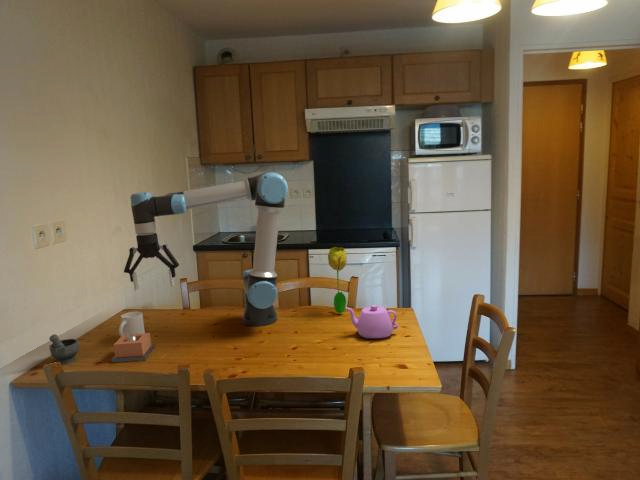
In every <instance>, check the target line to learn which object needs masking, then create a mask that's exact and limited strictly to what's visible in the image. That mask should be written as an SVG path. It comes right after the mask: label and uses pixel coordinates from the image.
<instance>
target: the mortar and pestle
mask: <svg viewBox="0 0 640 480" xmlns="http://www.w3.org/2000/svg"><path fill="white" fill-rule="evenodd" d="M48 338H49V342H51V344H49V345H48V346H49V352H50V354H51V355H50V356H52V357H53V358H54V360H56V361H57V362H60V363H61V364H62V365H63V366H64V365H69V364H72V363H74V362H76V359H77V358H76V355H77V353H79V349H80V348H79V347H80V343H79V340H78V338H77V339H76V338H66V339H62V340H60V338H59V336H58V334H56V333H55V334H52V335H50V336H49V337H48ZM62 365H61V366H62Z"/></svg>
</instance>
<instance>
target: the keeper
mask: <svg viewBox="0 0 640 480" xmlns="http://www.w3.org/2000/svg"><path fill="white" fill-rule="evenodd" d="M127 339H128V341H137V340H136V335H129V336H127ZM153 349H154V350H155V349H156V345H155V344H154V343H153V344H152V343H151V346H150V348H149V349H148V350H147V351H146V353H145V354H144V355H143V356H131V357H118V358H115V355H113V356H112V357H111V359H110V360H111V363H112V364H116V363H115V362H119V363H126V362H125V361H132V362H136V361H135V360H145V361H146V360H147V359H148V358H149V356H150V355H151V354H152V352H153V351H154V350H153ZM152 350H153V351H152ZM150 353H151V354H150ZM149 354H150V355H149ZM147 357H148V358H147ZM146 358H147V359H146Z"/></svg>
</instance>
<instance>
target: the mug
mask: <svg viewBox="0 0 640 480" xmlns="http://www.w3.org/2000/svg"><path fill="white" fill-rule="evenodd" d="M143 314H144V313H143V312H142V311H129V312H126V313H123V314H121V315H120V320H121V321H120V325H119V327H118V334H119V337H120V338H121V337H122V336H123V335H128V334H142V333H146V332H145V322H144V315H143Z"/></svg>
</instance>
